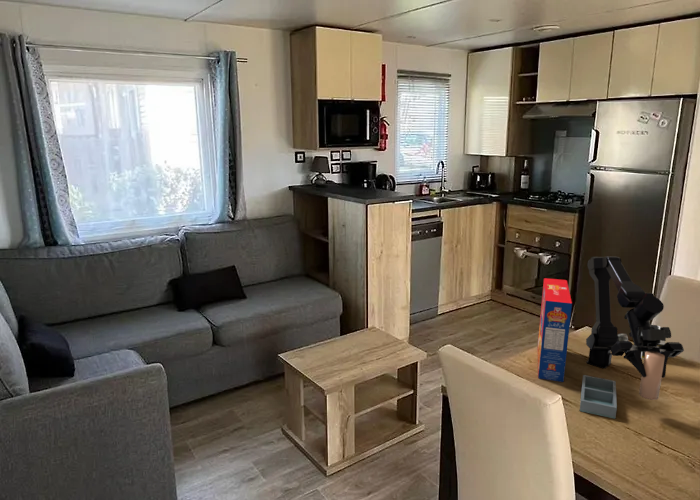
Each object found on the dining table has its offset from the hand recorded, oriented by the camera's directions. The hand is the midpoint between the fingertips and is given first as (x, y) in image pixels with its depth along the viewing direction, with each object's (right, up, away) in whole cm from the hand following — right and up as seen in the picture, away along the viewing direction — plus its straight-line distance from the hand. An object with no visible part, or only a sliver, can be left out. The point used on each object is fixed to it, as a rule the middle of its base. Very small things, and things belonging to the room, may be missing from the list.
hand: (654, 377), depth 147 cm
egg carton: (+16, -1, +54) cm, 57 cm away
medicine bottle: (+24, -3, +43) cm, 50 cm away
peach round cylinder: (0, -6, +3) cm, 7 cm away
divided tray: (-11, -10, +12) cm, 19 cm away
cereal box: (-16, -4, +37) cm, 41 cm away
